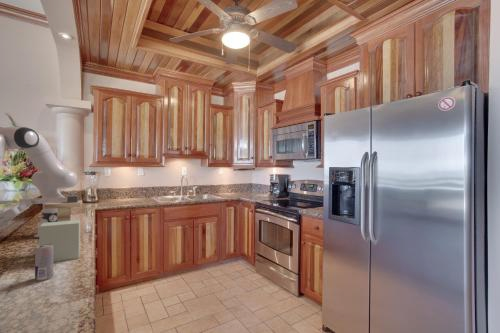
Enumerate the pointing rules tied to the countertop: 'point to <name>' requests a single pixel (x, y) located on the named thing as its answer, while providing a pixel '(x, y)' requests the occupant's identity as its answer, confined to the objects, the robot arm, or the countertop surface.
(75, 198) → the hammer
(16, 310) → the countertop surface
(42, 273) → the energy drink
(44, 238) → the pale green box
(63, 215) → the stand
